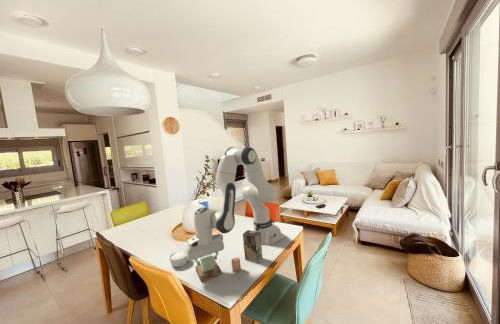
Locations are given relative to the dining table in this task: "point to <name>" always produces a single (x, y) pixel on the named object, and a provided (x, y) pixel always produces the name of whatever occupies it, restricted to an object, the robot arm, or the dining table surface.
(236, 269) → the reddish pink cylinder
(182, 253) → the ramekin
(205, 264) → the green cube
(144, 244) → the dining table surface
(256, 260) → the coffee box
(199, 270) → the walnut base
